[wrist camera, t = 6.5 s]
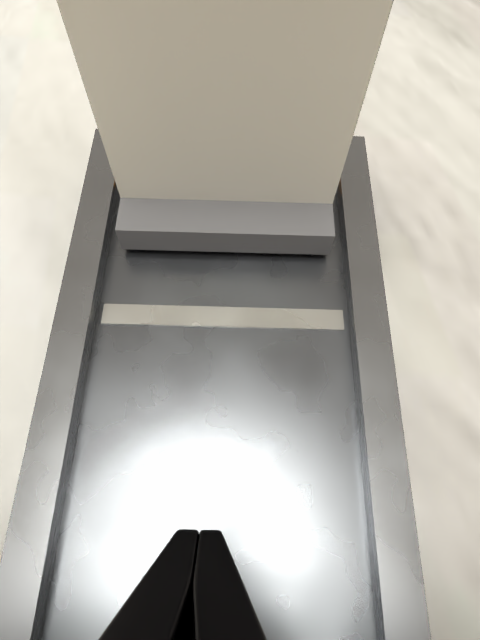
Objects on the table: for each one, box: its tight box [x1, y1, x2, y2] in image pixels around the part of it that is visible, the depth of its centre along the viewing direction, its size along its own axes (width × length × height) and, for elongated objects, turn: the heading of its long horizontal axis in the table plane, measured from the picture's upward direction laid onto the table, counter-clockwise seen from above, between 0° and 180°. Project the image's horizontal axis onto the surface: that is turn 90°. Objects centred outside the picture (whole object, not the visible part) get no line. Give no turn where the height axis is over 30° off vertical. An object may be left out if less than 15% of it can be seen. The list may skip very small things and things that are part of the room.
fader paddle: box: [57, 0, 394, 255], centre depth 13 cm, size 5×8×12 cm, turn 89°
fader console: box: [0, 129, 431, 640], centre depth 16 cm, size 24×12×3 cm, turn 179°
